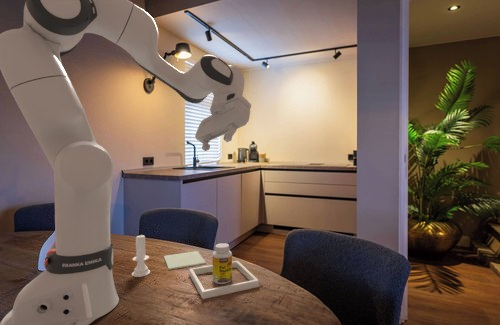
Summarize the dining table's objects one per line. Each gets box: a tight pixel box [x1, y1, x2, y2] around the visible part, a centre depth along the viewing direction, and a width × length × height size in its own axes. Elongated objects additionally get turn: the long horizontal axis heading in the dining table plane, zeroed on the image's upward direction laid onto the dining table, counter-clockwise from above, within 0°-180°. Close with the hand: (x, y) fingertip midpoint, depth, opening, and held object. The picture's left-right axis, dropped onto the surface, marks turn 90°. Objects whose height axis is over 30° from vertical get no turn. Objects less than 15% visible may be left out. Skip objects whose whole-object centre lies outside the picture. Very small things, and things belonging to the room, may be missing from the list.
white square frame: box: [188, 260, 260, 300], centre depth 80 cm, size 16×16×2 cm
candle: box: [131, 234, 151, 278], centre depth 85 cm, size 5×5×12 cm
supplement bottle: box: [212, 242, 233, 285], centre depth 80 cm, size 6×6×10 cm
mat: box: [163, 250, 207, 271], centre depth 95 cm, size 12×12×1 cm
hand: (215, 145), depth 80 cm, fingers open, 8 cm apart
